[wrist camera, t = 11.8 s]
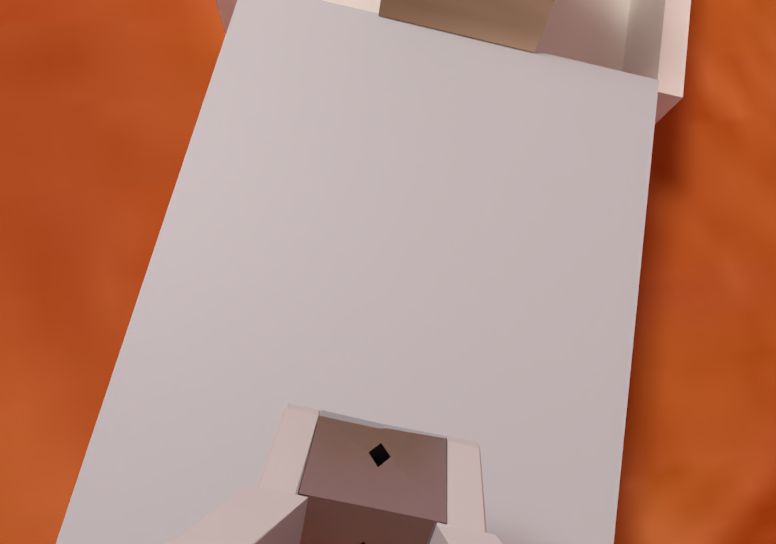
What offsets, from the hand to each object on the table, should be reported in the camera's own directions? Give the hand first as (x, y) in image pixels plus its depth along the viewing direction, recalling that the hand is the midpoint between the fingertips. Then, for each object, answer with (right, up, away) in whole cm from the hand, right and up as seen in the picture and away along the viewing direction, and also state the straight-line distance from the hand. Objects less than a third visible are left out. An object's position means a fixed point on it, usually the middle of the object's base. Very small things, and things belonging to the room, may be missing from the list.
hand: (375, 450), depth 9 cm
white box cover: (0, +1, +9) cm, 9 cm away
